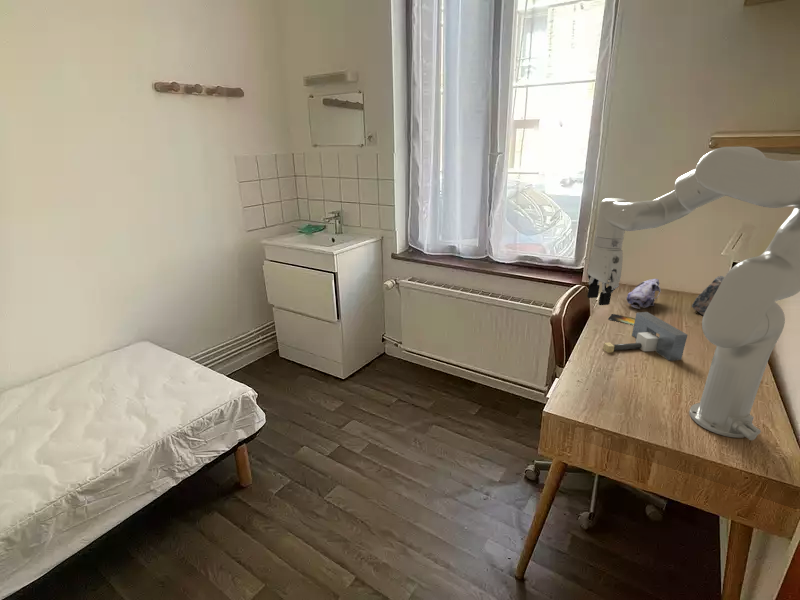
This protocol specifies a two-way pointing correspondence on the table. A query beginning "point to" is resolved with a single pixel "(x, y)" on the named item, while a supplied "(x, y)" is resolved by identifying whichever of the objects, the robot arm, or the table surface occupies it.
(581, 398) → the table surface
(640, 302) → the lavender lump
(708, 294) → the stone
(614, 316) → the smartphone
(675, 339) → the block
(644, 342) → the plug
